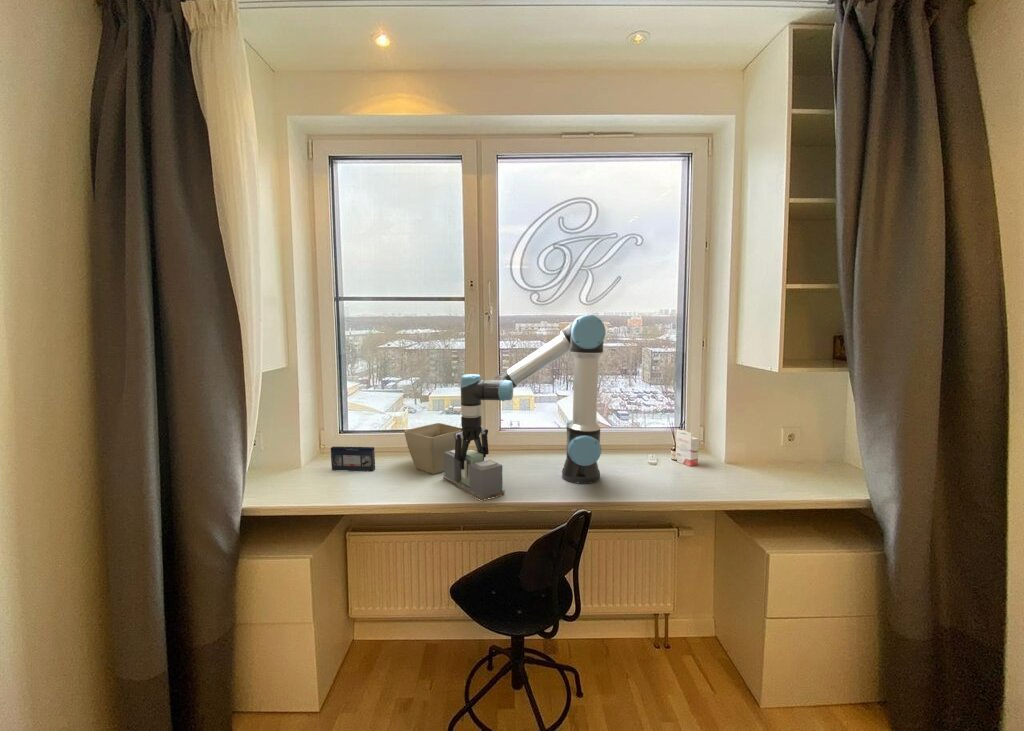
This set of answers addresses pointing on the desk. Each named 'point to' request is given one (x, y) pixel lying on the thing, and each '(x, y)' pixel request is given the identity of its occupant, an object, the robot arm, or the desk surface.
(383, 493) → the desk surface
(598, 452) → the robot arm
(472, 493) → the rail board
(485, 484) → the mounted modules
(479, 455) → the block
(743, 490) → the desk surface
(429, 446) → the flower pot
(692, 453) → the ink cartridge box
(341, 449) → the vhs cassette tape
